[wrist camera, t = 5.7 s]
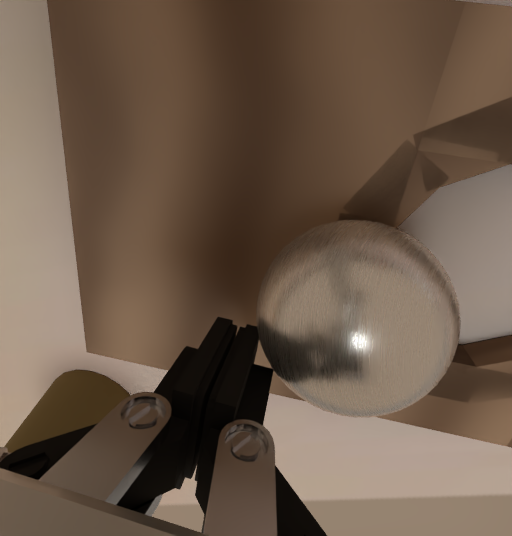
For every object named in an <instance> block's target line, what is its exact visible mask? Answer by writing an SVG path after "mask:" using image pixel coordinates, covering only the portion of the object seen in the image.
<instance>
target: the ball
mask: <svg viewBox="0 0 512 536" xmlns="http://www.w3.org/2000/svg"><path fill="white" fill-rule="evenodd" d="M256 322H257V329H258V335H259V340H260V343H261V346H262V349H263V351H264V353H265V356H266V358H267V360H268V362H269V363H270V365H271V367H272V368H273V370H274V372H275V373H276V374H277V376H278V377H279V378H280V379H281V380H282V381H283V383H284V384H285V385H286V386H287V387H288V388H289V389H290V390H292V391H293V392H294V393H295V394H296V395H298V396H299V397H300V398H302V399H303V400H305V401H307V402H308V403H310V404H311V405H313V406H316V407H318V408H320V409H322V410H325V411H328V412H332V413H335V414H339V415H342V416H349V417H375V416H381V415H387V414H390V413H394V412H397V411H400V410H402V409H404V408H406V407H408V406H410V405H412V404H414V403H416V402H417V401H418V400H420V399H421V398H423V397H424V396H426V395H427V394H428V393H429V392H430V391H431V390H432V389H433V388H434V387H435V386H436V385H437V384H438V383H439V381H440V380H441V379H442V377H443V376H444V375H445V373H446V372H447V370H448V368H449V366H450V364H451V362H452V360H453V358H454V355H455V352H456V349H457V345H458V342H459V335H460V312H459V304H458V300H457V296H456V293H455V289H454V287H453V285H452V283H451V280H450V278H449V276H448V274H447V273H446V271H445V270H444V268H443V266H442V265H441V263H440V262H439V261H438V260H437V259H436V258H435V256H434V255H433V254H432V253H431V252H430V251H429V250H428V249H427V248H426V247H425V246H424V245H422V244H421V243H420V242H419V241H417V240H416V239H414V238H413V237H411V236H410V235H408V234H406V233H404V232H402V231H400V230H398V229H396V228H394V227H391V226H388V225H385V224H382V223H378V222H373V221H366V220H342V221H336V222H331V223H327V224H323V225H320V226H317V227H315V228H312V229H310V230H308V231H306V232H305V233H303V234H301V235H300V236H298V237H296V238H295V239H294V240H293V241H291V242H290V243H289V244H288V245H287V246H285V247H284V248H283V249H282V251H281V252H280V253H279V254H278V255H277V256H276V257H275V259H274V260H273V262H272V263H271V265H270V266H269V268H268V270H267V272H266V274H265V276H264V278H263V280H262V283H261V286H260V289H259V294H258V299H257V307H256Z"/></svg>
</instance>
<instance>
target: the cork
mask: <svg viewBox="0 0 512 536" xmlns="http://www.w3.org/2000/svg"><path fill="white" fill-rule="evenodd" d="M128 396H130V395H129V393H127V392H126V391H125V390H124V389H123V388H122V387H121V386H120V385H119V384H118V383H116V382H114V381H112V380H111V379H109V378H107V377H106V376H104V375H101V374H98V373H94V372H91V371H83V370H74V371H70V372H65V373H63V374H62V375H61V376H59V377H58V378H57V379H56V380H55V381H54V382H53V384H52V385H51V386H50V388H49V389H48V390H47V392H46V393H45V394H44V395H43V397H42V398H41V399H40V401H39V402H38V403H37V405H36V406H35V407H34V409H33V410H32V411H31V413H30V414H29V415H28V416H27V418H26V419H25V420H24V422H23V423H22V424H21V426H20V427H19V428H18V430H17V431H16V432H15V433H14V435H13V436H12V437H11V439H10V440H9V441H8V443H7V444H6V445H5V447H6V448H7V450H8V453H12V452H14V451H15V450H17V449H20V448H22V447H24V446H27V445H30V444H33V443H36V442H40V441H43V440H46V439H49V438H52V437H55V436H59V435H62V434H65V433H68V432H71V431H74V430H78V429H81V428H84V427H87V426H90V425H94V424H97V423H99V422H100V421H101V420H102V419H103V418H104V417H105V416H106V415H107V414H108V413H110V412H111V411H112V410H113V409H114V408H115V407H116V406H117V405H118V404H119V403H120V402H121V401H123V400H124V399H125V398H127V397H128Z"/></svg>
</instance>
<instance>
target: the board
mask: <svg viewBox="0 0 512 536" xmlns="http://www.w3.org/2000/svg"><path fill="white" fill-rule="evenodd" d="M47 4H48V12H49V21H50V30H51V39H52V48H53V57H54V66H55V75H56V83H57V92H58V101H59V110H60V119H61V128H62V137H63V145H64V154H65V163H66V172H67V181H68V190H69V199H70V208H71V216H72V225H73V234H74V243H75V252H76V261H77V270H78V279H79V287H80V296H81V305H82V314H83V323H84V332H85V341H86V350H87V352H89V353H93V354H98V355H102V356H107V357H111V358H116V359H120V360H124V361H129V362H133V363H138V364H142V365H147V366H151V367H156V368H160V369H165V370H169V369H170V368H171V366H172V365H173V363H174V362H175V361H176V359H177V358H178V356H179V355H180V353H181V352H182V350H183V349H184V348H185V347H186V346H189V347H193V348H197V349H198V348H199V346H200V345H201V343H202V341H203V340H204V338H205V337H206V335H207V333H208V332H209V330H210V328H211V327H212V325H213V324H214V322H215V320H216V319H217V317H222V318H226V319H230V320H233V325H237V332H238V330H239V328H240V327H244V328H245V327H246V325H247V324H249V325H253V326H257V322H256V307H257V299H258V294H259V289H260V286H261V283H262V280H263V278H264V276H265V274H266V272H267V270H268V268H269V266H270V265H271V263H272V262H273V260H274V259H275V257H276V256H277V255H278V254H279V253H280V252H281V251H282V249H283V248H284V247H285V246H287V245H288V244H289V243H290V242H291V241H293V240H294V239H295V238H296V237H298V236H300V235H301V234H303V233H305V232H306V231H308V230H310V229H312V228H315V227H317V226H320V225H323V224H327V223H331V222H336V221H342V220H366V221H373V222H378V223H382V224H385V225H388V226H391V227H394V228H397V227H398V226H399V225H400V224H401V223H402V222H403V221H404V220H405V219H406V218H407V217H409V216H410V215H411V214H412V213H413V212H414V211H415V210H416V209H417V208H418V207H419V206H420V205H421V204H422V203H423V202H424V201H425V200H427V199H428V198H429V197H430V196H431V195H432V194H433V193H434V192H435V191H436V190H437V189H438V188H440V187H443V186H446V185H449V184H452V183H455V182H458V181H461V180H464V179H467V178H470V177H473V176H476V175H479V174H482V173H485V172H487V171H490V170H493V169H496V168H499V167H502V166H505V165H508V164H512V7H511V6H501V5H492V4H483V3H473V2H464V1H455V0H47ZM237 332H236V335H237ZM254 364H256V365H260V366H264V367H268V368H272V367H271V365H270V363H269V362H268V360H267V358H266V356H265V353H264V351H263V349H262V346H261V343H260V340H259V343H258V348H257V352H256V357H255V362H254ZM272 369H273V368H272ZM269 393H272V394H276V395H280V396H285V397H289V398H294V399H298V400H303V399H302V398H300V397H299V396H298V395H296V394H295V393H294V392H293V391H292V390H290V389H289V388H288V387H287V386H286V385H285V384H284V383H283V381H282V380H281V379H280V378H279V377H278V376H277V374H276V373H275V372H274V371H273V376H272V381H271V386H270V391H269ZM303 401H305V400H303ZM375 417H378V418H383V419H387V420H392V421H396V422H401V423H405V424H410V425H414V426H419V427H423V428H427V429H432V430H436V431H441V432H445V433H450V434H454V435H459V436H463V437H468V438H472V439H477V440H481V441H485V442H490V443H494V444H499V445H503V446H508V447H512V335H510V336H505V337H500V338H495V339H490V340H485V341H480V342H475V343H470V344H465V345H460V344H458V345H457V349H456V352H455V355H454V358H453V360H452V362H451V364H450V366H449V368H448V370H447V372H446V373H445V375H444V376H443V377H442V379H441V380H440V381H439V383H438V384H437V385H436V386H435V387H434V388H433V389H432V390H431V391H430V392H429V393H428V394H427V395H426V396H424V397H423V398H421V399H420V400H418V401H417V402H416V403H414V404H412V405H410V406H408V407H406V408H404V409H402V410H400V411H397V412H394V413H390V414H387V415H381V416H375Z"/></svg>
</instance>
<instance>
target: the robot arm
mask: <svg viewBox="0 0 512 536" xmlns="http://www.w3.org/2000/svg"><path fill="white" fill-rule="evenodd" d="M236 332H237V325H233V320H230V319H226V318H222V317H217V319H216V320H215V322H214V324H213V325H212V327H211V328H210V330H209V332H208V333H207V335H206V337H205V338H204V340H203V341H202V343H201V345H200V346H199V348H198V349H197V348H193V347H189V346H186V347H185V348H184V349H183V350H182V352H181V353H180V355H179V356H178V358H177V359H176V361H175V362H174V363H173V365H172V366H171V368H170V369H169V371H168V372H167V374H166V375H165V377H164V378H163V379H162V381H161V382H160V384H159V385H158V387H157V388H156V390H155V391H154V393H153V392H142V393H136V394H133V395H131V396H128V397H127V398H125V399H124V400H123V401H121V402H120V403H119V404H118V405H117V406H116V407H115V408H114V409H113V410H112V411H111V412H110V413H108V414H107V415H106V416H105V417H104V418H103V419H102V420H101V421H100V422H99V423H97V424H94V425H90V426H87V427H84V428H81V429H78V430H74V431H71V432H68V433H65V434H62V435H59V436H55V437H52V438H49V439H46V440H43V441H40V442H36V443H33V444H30V445H27V446H24V447H22V448H20V449H17V450H15V451H14V452H12V453H8V450H7V448H6V447H0V536H327V535H326V533H325V532H324V531H323V529H322V528H321V527H320V525H319V524H318V523H317V521H316V520H315V519H314V517H313V516H312V515H311V513H310V512H309V510H308V509H307V508H306V506H305V505H304V504H303V502H302V501H301V500H300V498H299V497H298V495H297V494H296V493H295V491H294V490H293V489H292V487H291V486H290V485H289V483H288V482H287V481H286V479H285V478H284V476H283V475H282V474H281V472H280V471H279V470H278V468H277V467H276V466H275V447H274V441H273V438H272V436H271V434H270V432H269V431H268V430H267V429H266V428H265V427H264V426H263V421H264V416H265V411H266V406H267V401H268V396H269V391H270V386H271V381H272V376H273V371H274V370H273V369H272V368H268V367H264V366H260V365H256V364H254V362H255V357H256V352H257V348H258V343H259V335H258V329H257V326H253V325H249V324H247V325H246V327H245V328H244V327H240V328H239V330H238V332H237V335H236ZM196 466H197V469H196V475H195V481H197V487H196V493H195V496H196V498H197V500H198V502H199V504H200V506H201V508H202V510H203V512H204V521H203V526H202V532H201V533H200V532H197V531H194V530H190V529H188V528H185V527H182V526H178V525H176V524H173V523H169V522H166V521H163V520H160V519H157V518H154V517H151V516H152V514H153V513H154V511H155V510H156V508H157V506H158V505H159V502H160V500H161V498H162V494H164V493H166V492H168V491H170V490H172V489H174V488H177V489H180V488H181V486H182V483H183V481H184V479H185V477H186V478H189V479H191V478H192V476H193V473H194V471H195V468H196Z"/></svg>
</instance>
